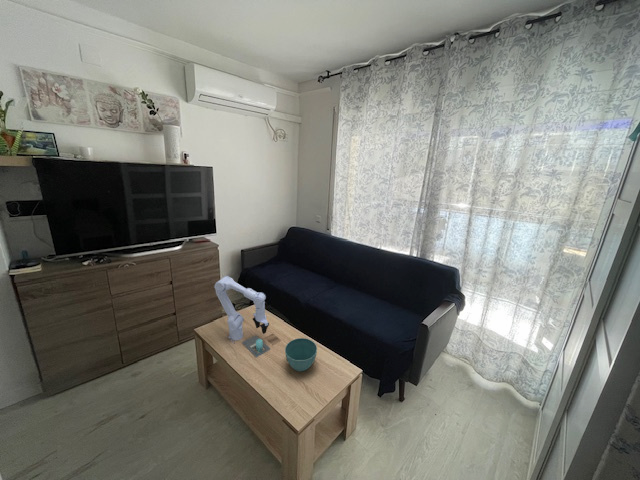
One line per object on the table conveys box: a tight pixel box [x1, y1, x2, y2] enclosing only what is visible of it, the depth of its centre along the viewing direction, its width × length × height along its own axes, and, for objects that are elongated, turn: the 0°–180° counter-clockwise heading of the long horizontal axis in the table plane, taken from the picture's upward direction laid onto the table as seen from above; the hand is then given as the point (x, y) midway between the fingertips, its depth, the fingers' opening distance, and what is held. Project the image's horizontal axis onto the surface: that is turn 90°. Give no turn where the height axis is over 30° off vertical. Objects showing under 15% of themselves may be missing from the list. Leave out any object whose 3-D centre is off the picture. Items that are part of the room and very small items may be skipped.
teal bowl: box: [284, 337, 318, 372], centre depth 142 cm, size 18×18×12 cm
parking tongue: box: [264, 333, 282, 347], centre depth 163 cm, size 10×7×2 cm
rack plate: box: [241, 334, 271, 358], centre depth 156 cm, size 17×10×3 cm, turn 45°
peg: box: [255, 338, 264, 353], centre depth 153 cm, size 4×4×8 cm
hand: (261, 330), depth 159 cm, fingers open, 7 cm apart
